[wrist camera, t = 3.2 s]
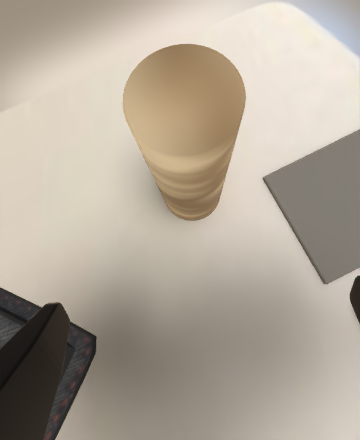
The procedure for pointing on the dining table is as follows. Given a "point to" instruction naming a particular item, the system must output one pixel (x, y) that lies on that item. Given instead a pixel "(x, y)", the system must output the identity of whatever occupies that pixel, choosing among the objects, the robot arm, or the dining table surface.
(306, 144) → the dining table surface
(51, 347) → the robot arm
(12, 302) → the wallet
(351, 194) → the support pad
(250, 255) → the dining table surface
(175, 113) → the birch roller
